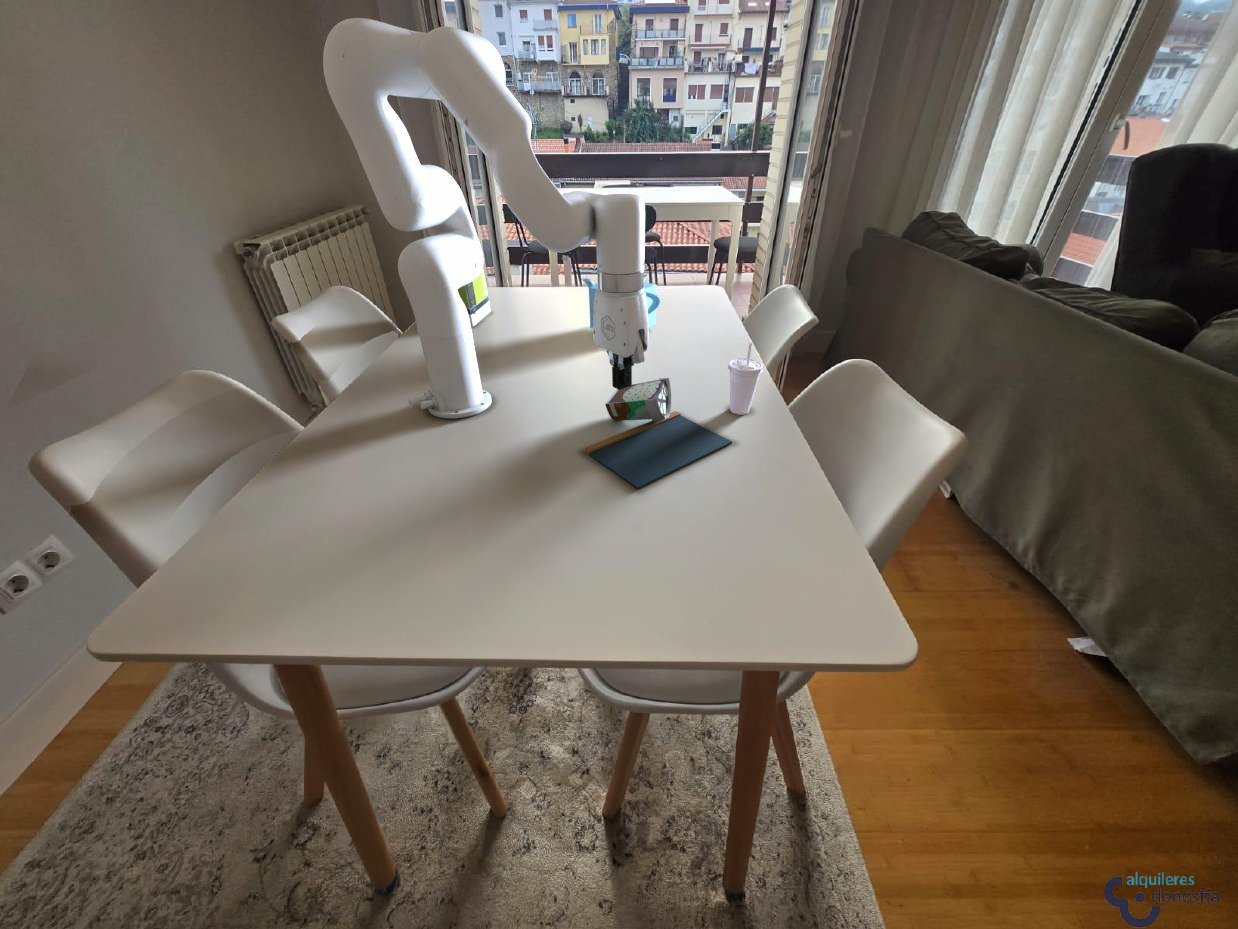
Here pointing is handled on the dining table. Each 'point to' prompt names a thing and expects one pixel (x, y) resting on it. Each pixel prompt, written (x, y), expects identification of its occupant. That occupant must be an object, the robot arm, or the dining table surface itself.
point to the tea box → (475, 299)
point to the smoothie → (743, 382)
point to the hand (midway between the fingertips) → (622, 386)
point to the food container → (641, 401)
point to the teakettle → (651, 300)
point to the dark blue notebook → (656, 449)
